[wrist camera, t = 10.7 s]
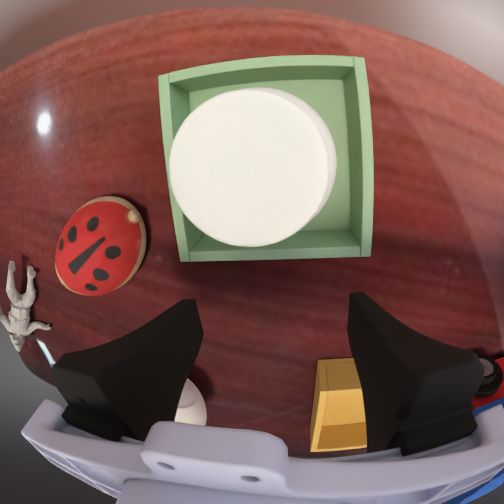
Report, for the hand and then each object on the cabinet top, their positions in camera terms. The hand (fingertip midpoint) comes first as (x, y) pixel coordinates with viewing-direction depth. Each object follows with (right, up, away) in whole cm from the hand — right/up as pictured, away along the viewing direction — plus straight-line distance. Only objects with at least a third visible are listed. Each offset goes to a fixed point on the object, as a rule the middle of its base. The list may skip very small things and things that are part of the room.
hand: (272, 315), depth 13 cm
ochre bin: (+10, -10, +9) cm, 17 cm away
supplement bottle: (0, +8, +3) cm, 9 cm away
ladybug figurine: (-12, +4, +7) cm, 15 cm away
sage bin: (0, +9, +3) cm, 9 cm away
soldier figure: (-26, -3, +11) cm, 29 cm away
